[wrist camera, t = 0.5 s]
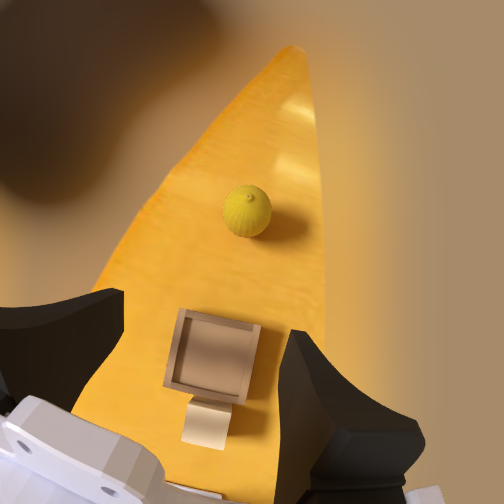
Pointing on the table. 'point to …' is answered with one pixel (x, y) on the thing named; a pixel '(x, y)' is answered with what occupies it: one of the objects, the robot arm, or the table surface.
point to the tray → (212, 356)
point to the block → (207, 422)
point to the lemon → (247, 211)
